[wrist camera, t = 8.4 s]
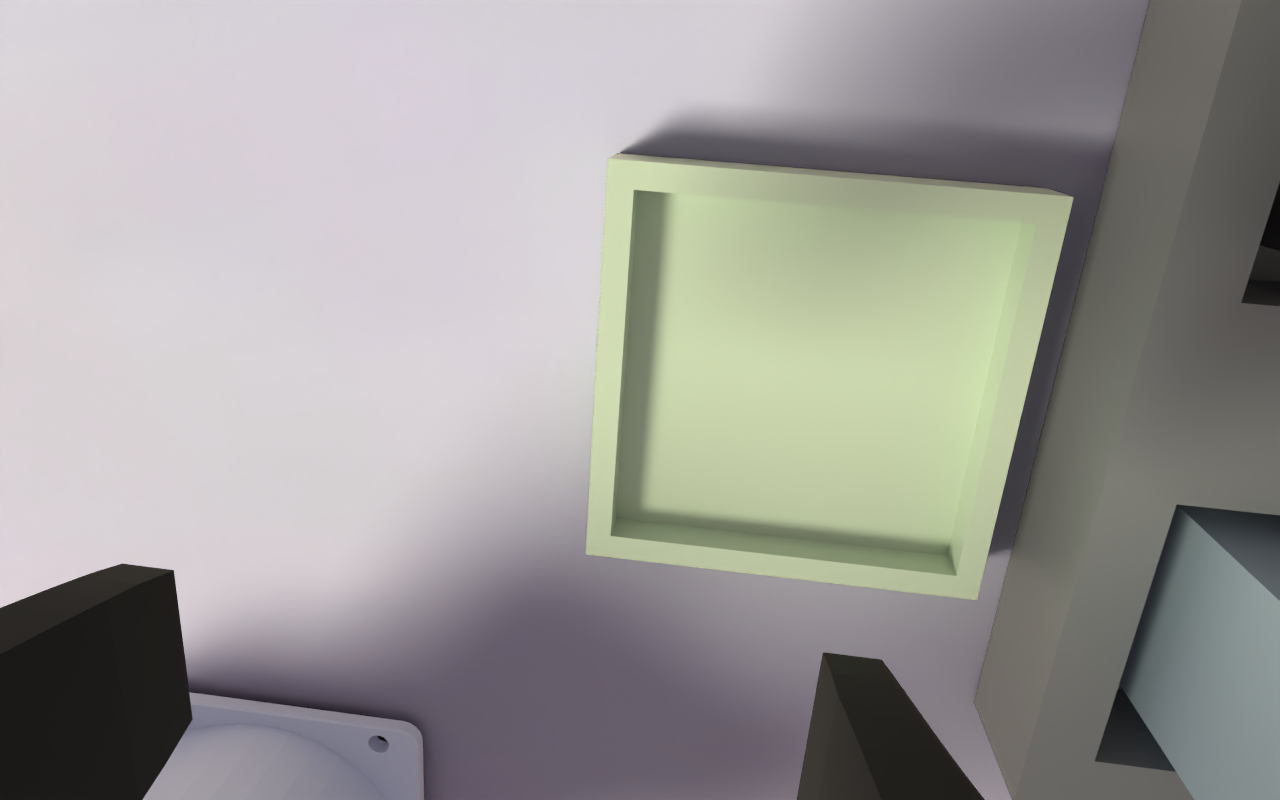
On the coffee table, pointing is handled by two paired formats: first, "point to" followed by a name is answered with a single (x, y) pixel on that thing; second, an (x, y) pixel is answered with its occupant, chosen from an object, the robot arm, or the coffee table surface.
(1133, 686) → the plug
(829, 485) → the tray
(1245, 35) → the power strip
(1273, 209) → the twin plug
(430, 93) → the coffee table surface
